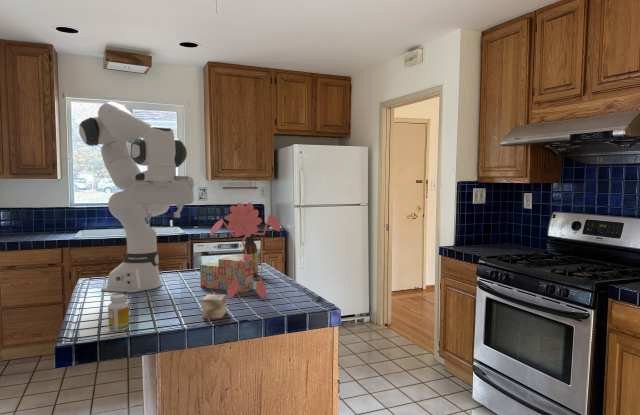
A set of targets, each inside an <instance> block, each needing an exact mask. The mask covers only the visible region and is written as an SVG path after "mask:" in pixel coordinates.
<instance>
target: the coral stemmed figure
mask: <svg viewBox="0 0 640 415" xmlns="http://www.w3.org/2000/svg"><path fill="white" fill-rule="evenodd" d="M236 204H237V205H231V206H230V207H229V211H230V214H227V215H226V217H225V220H226V221H228V224H227V223H226V221H224V219H223V218H221V219H220V220H218V221H216V222H215V223H214V224H213V226H212V227H211V230H210V236H213V235H214V234H216V233H217V232H218V231H219V230H220V229H221V227H222V226H223V225H224V226H225V227H226V228H227V230H228V231H229V233H231V234H232V236H233V237H234V238H236V237H237V238H238V237H240V236H244V238H242V241H241V243H242V246H243V249H244V250H245V253H246V255H244V256H243V257H242V258H243V259H242V260H244V261H245V262H249V261H250V260H251V257H250V255H248V254H247V252H246V249H245V239H246V237H250V236H251V234H254V235H259V236H261V235H262V236H265V234H266V231H267V227H268V226H269V227H271V228H272V229H273V230H275V231H277V232H278V233H279V232H280V231H281V223H280V221H279V220H278V219H277V217H275V216H274V215H270V214H268V216H267V221H266V224H265V228H264V230H263V232H259V228H258V225H260V224H261V223H262V222H263V219H262V218H261V217H258V216H259V213H260V212H259V210H258V209H254V205H253V203H252V202H248V203H247V204H246V205H245V204H243V203H241V202H237V203H236ZM232 230H233V231H232ZM242 260H240V261H242ZM240 261H238V262H240ZM251 261H254V260H251ZM238 262H236V263H238ZM254 262H256V261H254ZM236 263H234V264H236ZM256 263H258V265H261V266H260V267H261V268H260V275H259V276H260V277H259V280H258V281H256V283H255V291H256V293H257V295H258V296H259V297H261V299H264V298H265V296H266V293H267V287H266V284H265V283H264V282H263V281H262V276H263V275H262V273H263V266H264V265H263V263H261V262H259V261H258V262H256ZM234 264H233V273H234ZM238 288H239V283H238V281H236V280H235V273H234V281H233V282H232V283H231V284H230V285H229V287H228V290H226V294H227V295H226V297H227V298H228V300H229V299H231V298H232V297H233V296H234V295H236V296H239V292H238V291H237V290H238ZM221 295H224V294H223V292H222V293H221ZM270 303H271V301H269V302H266V303H264V305H266V304H270ZM227 305H228V306H229V304H227V303H226V306H227ZM262 305H263V303H261V304H253V305H249V307H254V306H262ZM231 306H233V307H237V305H235V304H231ZM240 307H242V308H243V305H240Z"/></svg>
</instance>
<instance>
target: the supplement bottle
mask: <svg viewBox="0 0 640 415" xmlns="http://www.w3.org/2000/svg"><path fill="white" fill-rule="evenodd" d="M109 298H110V303H109V304H108V306H107V315H108V316H107V317H108V330H109V331H111V332H120V331H121V332H122V331H125V330H128V329H129V327H130V318H129V317H130V315H129V314H130V313H129V303H128V302H127V301H126V294H124V293H122V294H121V293H119V294H113V295H110V297H109Z"/></svg>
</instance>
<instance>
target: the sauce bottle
mask: <svg viewBox="0 0 640 415" xmlns="http://www.w3.org/2000/svg"><path fill="white" fill-rule="evenodd" d="M254 236H255V234H251V236H250V237H246V239H245V240H244V245H245V249H246V252H247V254H248V255H250V257H251V259H253V260H254V261H256V262H259V260H258V259H259V257H258V256H259V254H258V248H257V244H256V243H255V238H254ZM242 249H243V251H242V253H243V254H242V256H243V257H244V255H246V253H245V250H244V248H242ZM254 261H253V278H254V277H256V276H257V277H258V275H259V264H258V263H256V262H254Z"/></svg>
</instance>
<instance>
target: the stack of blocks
mask: <svg viewBox="0 0 640 415" xmlns="http://www.w3.org/2000/svg"><path fill="white" fill-rule="evenodd" d="M242 259H243V257H241V256H239V257H238V256H236V257H235V256H224V257H222V258H218V262H211V261H209V262H208V261H207V262H205V263H202V264H200V265H199V273H200V276H199V279H200V288H204V287H206V288H207V289H211V288H212V289H213V290H218V289H220V291H227V290H228V287H229V285H230V284H231V283H232V282H233V281H234V273H235V280H236V281H238V283H239V288H238V290H237V291H238V293H248V292H249V291H253V290H254V277H253V261H251V260H253V259H251V260H250V261H249V262H245V261H244V260H242ZM240 260H242V261H240ZM238 261H240V262H238ZM236 262H238V263H236ZM234 263H236V264H234ZM233 264H234V273H233ZM206 288H205V289H206Z"/></svg>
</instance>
